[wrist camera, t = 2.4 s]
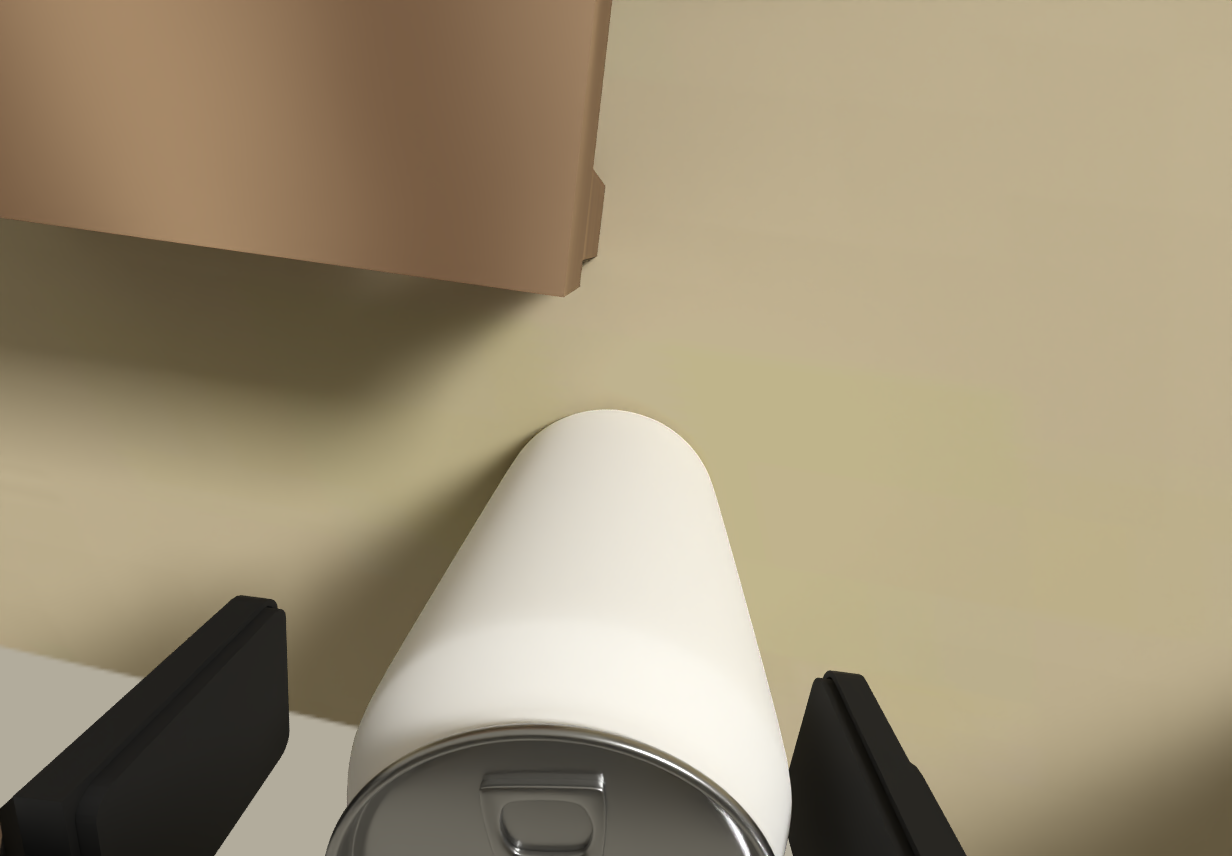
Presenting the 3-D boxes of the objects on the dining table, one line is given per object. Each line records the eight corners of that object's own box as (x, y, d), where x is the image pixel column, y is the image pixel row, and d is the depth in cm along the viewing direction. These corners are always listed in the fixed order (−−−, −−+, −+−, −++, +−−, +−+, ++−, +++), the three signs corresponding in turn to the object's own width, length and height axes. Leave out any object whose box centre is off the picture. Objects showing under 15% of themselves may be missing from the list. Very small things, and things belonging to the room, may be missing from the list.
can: (514, 598, 20) (335, 1086, 8) (495, 407, 18) (230, 697, 6) (714, 596, 19) (812, 1104, 8) (716, 401, 18) (846, 697, 6)
